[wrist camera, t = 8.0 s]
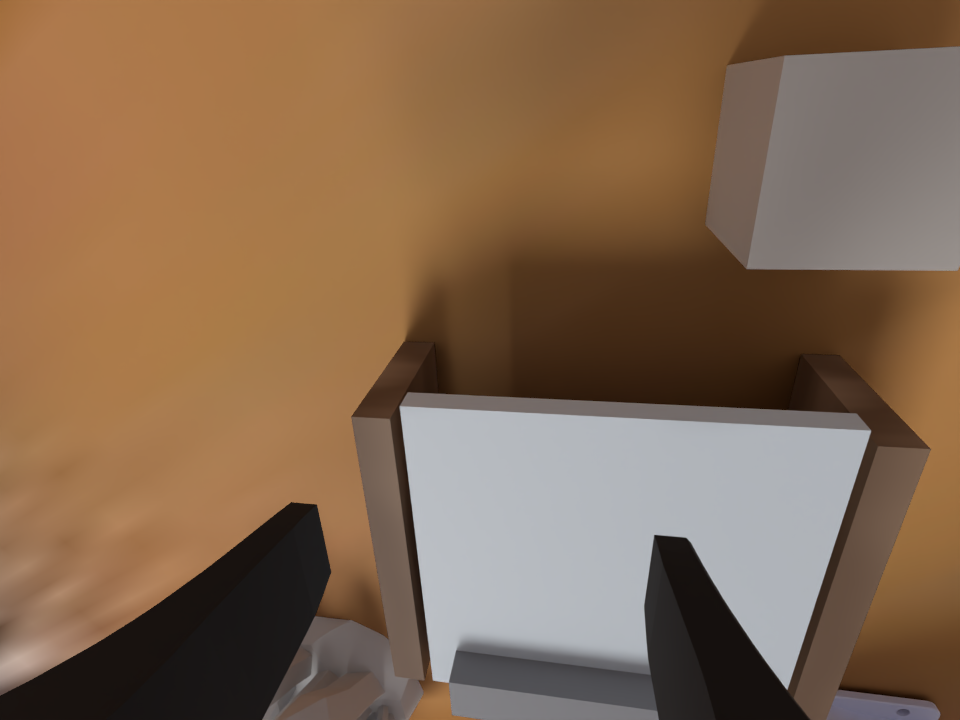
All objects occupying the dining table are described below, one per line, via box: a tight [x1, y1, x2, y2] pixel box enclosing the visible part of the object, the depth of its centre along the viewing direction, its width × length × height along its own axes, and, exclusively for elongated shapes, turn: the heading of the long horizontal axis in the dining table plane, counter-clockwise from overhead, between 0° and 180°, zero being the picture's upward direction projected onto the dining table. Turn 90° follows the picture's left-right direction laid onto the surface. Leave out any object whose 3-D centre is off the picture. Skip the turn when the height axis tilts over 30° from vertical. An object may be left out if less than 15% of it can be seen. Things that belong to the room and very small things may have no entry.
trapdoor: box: [400, 392, 871, 720], centre depth 17 cm, size 12×12×2 cm
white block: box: [705, 47, 960, 271], centre depth 14 cm, size 4×4×5 cm
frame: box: [351, 342, 931, 720], centre depth 20 cm, size 15×12×6 cm
